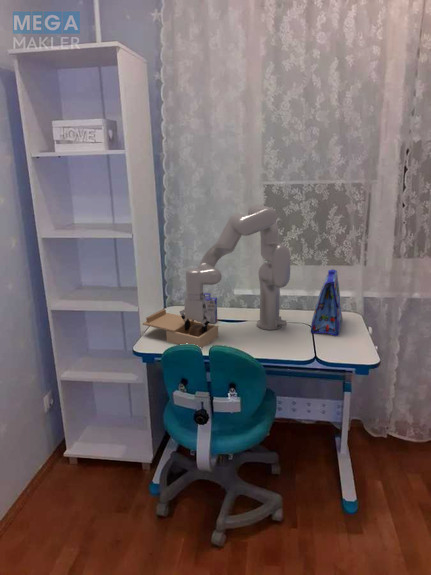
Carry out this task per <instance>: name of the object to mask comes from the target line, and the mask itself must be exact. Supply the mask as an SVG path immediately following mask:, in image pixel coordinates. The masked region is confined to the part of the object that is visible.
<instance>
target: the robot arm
mask: <svg viewBox="0 0 431 575" xmlns="http://www.w3.org/2000/svg"><path fill="white" fill-rule="evenodd" d="M277 219H278V214H277V211H276V210H275V209H274V208H272V207H270V206H266V205H262V204H253V205H251V206H250V207H249V208H248V210H247V215H244V214H240V213H234V214H232V215H230V216H229V218H228V220H227V222H226V224H225V226H224V228H223V229H222V231H221V233H220V235H219V237H218V239H217V241H216V242H215V243H214V244H213V245H212V246H211V247H210V248H209V249H208V250H207V251H206V252H205V254H204V255H203V256H202V259H201V260H200V262H199V265H198V266H197V267H191V268H188V269H186V270H185V287H186V289H185V290H186V292H185V293H186V297H185V300H184V309H181V310H180V311H179V315H180V316H181V317H182V319H183V321H184V322H185V330H188V329H189V328H190V320H194V321H200V322H201V323H202V325H203V326H202V334H204V333H205V332H207V325H208V324H211V323H210V321H211V320H212V317H211V316H210V315H208V314H207V305H206V301H205V299H204V298H205V296H206V295H204V286H205V285H207V286H208V285H209V286H211V285H212V286H213V285H218V283H220V282H221V281H222V277H223V276H222V273H221V271H220V270H219V269H218V268H217V267H216V265H217V263H218V262H219V261H220V260H221V258H222V257H224V256H226V255H228V254H232V253H233V252H234V251H235V249H236V247H237V245H238V243H239V241H240V240H241V237H243V236H244V237H245V236H246V237H248V236H251V235H254V234H256V233H259V234H260V255H261V258H262V259H264V260H266V262H264V263H262V264H261V265H260V267H259V269H258V274H257V275H258V281H259V289H260V290H259V320H258V321H256V327H257V328H259V329H262V330H267V331H268V330H269V331H273V330H274V331H275V330H278V329H281V328H282V327H283V326H284V327H286V326H287V325H288V324H287V323H288V322H287V320H284V319H282V316H280V309H281V307H280V306H281V289H282V288H284V287H286V286H287V285H288V284H289V282H290V280H291V253H290V250H289V249H288V247H287V245H285V244H282V243H280V232H279V226H278V222H277ZM267 261H268V262H267ZM189 319H190V320H189ZM206 319H208V320H206ZM204 322H205V323H204Z"/></svg>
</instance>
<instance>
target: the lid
mask: <svg viewBox="0 0 431 575" xmlns="http://www.w3.org/2000/svg"><path fill="white" fill-rule="evenodd" d="M145 319H146V320H145V321H144V322H142V325H143V326H147V327H150V328H155V329H159V330H165V331H166V330H167V331H172V332H176V331H177V330H179V329H181V328H182V327H184V326H185V322H184V321H183V319H182V317H181V315H180V314H174V313H170V312H167V310H166V308H165V309H164V308H163V309H161V310H158V311H156V312H155V313H153V314H151V315H149V316H147V317H146V318H145ZM189 320H190V319H189ZM193 321H195V320H190V323H191V322H193Z"/></svg>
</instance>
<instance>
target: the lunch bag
mask: <svg viewBox="0 0 431 575" xmlns="http://www.w3.org/2000/svg"><path fill="white" fill-rule="evenodd" d="M327 271H328V272H327V274H326V276H325V279H324V282H323V284H322V286H321V289H320V291H319V294H318V298H317V301H316V304H315V309H314V311H313V316H312V320H311V326H310V333H311V334H327V335H331V336H334V337H338V336H339V335H340V333H341V332H340V330H341V327H342V322H343V314H342V308H341V303H340V302H341V293H340V287H339V286H340V284H339V277H338V270H336V269H328V270H327Z"/></svg>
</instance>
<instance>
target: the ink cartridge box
mask: <svg viewBox="0 0 431 575" xmlns="http://www.w3.org/2000/svg"><path fill="white" fill-rule="evenodd" d="M203 294H204V295H205V298H204V299H205V301H206V305H207V314H208V315H210V316H211V317H212V320H211V321H210V323H209V324H216V322H217V321H218V297H211V293H207V292H203ZM206 320H208V319H206ZM197 322H200V321H197ZM204 323H205V322H204Z"/></svg>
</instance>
